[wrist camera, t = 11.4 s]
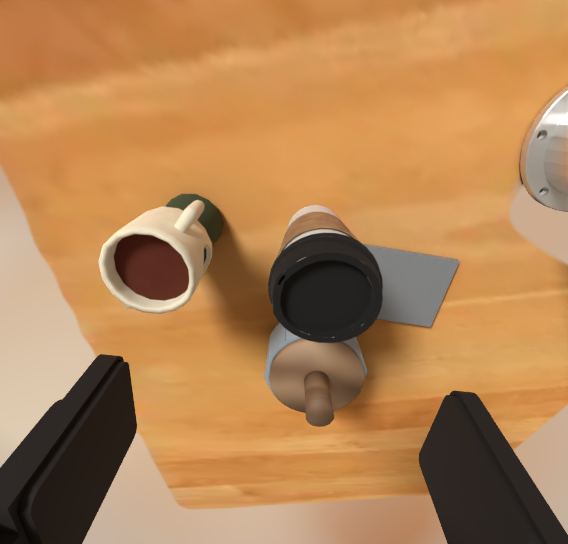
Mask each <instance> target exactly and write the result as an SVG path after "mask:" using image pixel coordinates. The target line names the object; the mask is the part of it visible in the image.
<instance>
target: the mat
mask: <svg viewBox="0 0 568 544" xmlns="http://www.w3.org/2000/svg"><path fill="white" fill-rule="evenodd" d="M363 245H364V246H366V247H367V248H368V250H369V251H370V252H371V253H372V254H373V256H374V257H375V259H376V261H377V263H378V266H379V269H380V272H381V275H382V282H383V289H382V295H383V301H382V307H381V310H380V312H379V315H378V317H377V318H376V319H380V320H386V321H393V322H399V323H406V324H413V325H419V326H426V327H431V325H432V323H433V321H434V318H435V316H436V314H437V312H438V309H439V307H440V305H441V303H442V300H443V298H444V296H445V294H446V291H447V289H448V287H449V285H450V282H451V280H452V278H453V275H454V273H455V271H456V269H457V266H458V264H459V262H460V261H459V260H457V259H452V258H446V257H440V256H434V255H428V254H422V253H416V252H410V251H403V250H397V249H391V248H385V247H379V246H373V245H367V244H363Z"/></svg>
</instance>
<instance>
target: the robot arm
mask: <svg viewBox="0 0 568 544" xmlns="http://www.w3.org/2000/svg"><path fill="white" fill-rule="evenodd" d="M520 171H521V177H522V181H523V184H524V186H525V188H526V189H527V191H528V193H529V194H530V195H531V196H532V197H533V198H534V199H535V200H536V201H537V202H539V203H541V204H543V205H544V206H547V207H549V208H552V209H555V210H559V211H565V212H568V86H566V87H565V88H564V89H563V90H562V91H560V92H559V93H558V94H557V95H555V96H554V97H553V98H552V99H551V100H550V101H549V103H548V104H547V105H546V106H545V107H544V108H543V109H542V110H541V112H540V113H539V115H538V116H537V118H536V119H535V120H534V122H533V124H532V126H531V128H530V130H529V132H528V134H527V136H526V138H525V141H524V144H523V148H522V152H521V159H520ZM136 429H137V422H136V415H135V407H134V400H133V392H132V385H131V377H130V370H129V364H128V362H124V360H123V358H122V357H121V356H112V355H102V354H101V355H99V356H98V357H97V358H96V359H95V360H94V361H93V362H92V364H91V365H90V366H89V367H88V369H87V370H86V371H85V372H84V374H83V375H82V376H81V377H80V378H79V380H78V381H77V382H76V383H75V385H74V386H73V387H72V388H71V390H70V391H69V393H67V395H66V396H65V397H64V398H63V400H59V401H57V402H55V403H54V404H53V405H52V406H51V407H50V408H49V410H48V411H47V412H46V413H45V414H44V416H43V417H42V418H41V419H40V420H39V422H38V423H37V424H36V425H35V427H34V428H33V429H32V430H31V431H30V433H29V434H28V435H27V436H26V438H25V439H24V440H23V441H22V442H21V444H20V445H19V446H18V447H17V448H16V450H15V451H14V452H13V453H12V454H11V456H10V457H9V458H8V459H7V460H6V462H5V463H4V464H3V465H2V467H1V468H0V544H82V543H83V541H84V538H85V536H86V534H87V532H88V530H89V528H90V526H91V524H92V522H93V520H94V518H95V516H96V514H97V512H98V510H99V508H100V506H101V504H102V502H103V500H104V498H105V496H106V493H107V492H108V489H109V488H110V486H111V484H112V481H113V480H114V478H115V475H116V473H117V471H118V469H119V467H120V465H121V463H122V461H123V459H124V457H125V455H126V453H127V451H128V449H129V447H130V445H131V443H132V441H133V439H134V436H135V433H136ZM419 463H420V467H421V470H422V473H423V476H424V478H425V481H426V484H427V487H428V490H429V492H430V495H431V498H432V501H433V504H434V506H435V509H436V512H437V515H438V518H439V520H440V523H441V526H442V529H443V532H444V534H445V537H446V540H447V543H448V544H568V535H567V533H566V532H565V530H564V529H563V527H562V525H561V524H560V522H559V521H558V519H557V518H556V516H555V515H554V513H553V511H552V510H551V508H550V507H549V505H548V504H547V502H546V501H545V499H544V497H543V496H542V494H541V493H540V491H539V490H538V488H537V487H536V485H535V484H534V482H533V480H532V479H531V477H530V476H529V474H528V473H527V471H526V470H525V468H524V466H523V465H522V463H521V462H520V460H519V459H518V458H517V456H516V454H515V453H514V451H513V449H512V448H511V446H510V445H509V443H508V442H507V440H506V439H505V437H504V436H503V434H502V432H501V431H500V429H499V428H498V426H497V425H496V423H495V422H494V420H493V418H492V417H491V415H490V414H489V412H488V411H487V409H486V408H485V406H484V405H483V403H482V401H481V400H480V398H479V397H478V396H477V395H476V394H475V393H471V392H462V391H452V392H451V393H450V395H447V396H445V398H444V400H443V402H442V404H441V406H440V408H439V411H438V413H437V415H436V417H435V420H434V422H433V424H432V426H431V428H430V431H429V433H428V435H427V437H426V440H425V442H424V444H423V446H422V448H421V451H420V453H419Z"/></svg>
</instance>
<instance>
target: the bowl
mask: <svg viewBox="0 0 568 544" xmlns="http://www.w3.org/2000/svg"><path fill="white" fill-rule="evenodd" d="M298 339H301V338H300V337H298V336H296V335H294V334H292V333H291V332H289V331H288V330H287V329H285V328H284V327H283V326H282V325H281V324H280V323H278V324H277V325H276V326H275V327H274V329H273V331H272V333H271V334H270V338H269V344H268V350H267V357H266V367H265V376H264V377H265V380H266V381H267V383H268V385H269V387H270V383H269V373H270V366H271V362H272V360H273V358H274V357H275V355H276V354H277V353H278V352H279V350H281V349H282V348H283V347H284V346H286V345H287V344H289V343H291V342H293V341H295V340H298ZM342 342H343V343H345V344H347V345H348V346H349V347H351V348H352V349H353V350H354V351H355V352H356V353H357V355H358V356H359V358H360V361H361V363H362V367H363V371H364V379H365V376H366V373H367V369H366V365H365V362H364V358H363V355H362V351H361V348H360V345H359V342H358V339H357V336H356V337H354V338H352V339H350V340H346V341H342ZM270 389H271V387H270ZM271 391H272V390H271ZM272 393H273V392H272ZM273 395H274V394H273ZM274 396H275V395H274ZM275 397H276V396H275Z"/></svg>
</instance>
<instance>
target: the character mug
mask: <svg viewBox="0 0 568 544" xmlns="http://www.w3.org/2000/svg"><path fill="white" fill-rule="evenodd" d="M222 224H223V222H222V219H221V216H220V213H219V210H218V209H217V208H216V207H215V206H214V205H213V204H212V203H211V202H210V201H209V200H207V199H205V198H203V197H201V196H198V195H196V194H181V195H179V196H177V197H175V198H173V199H171V200H170V202H169V203H168V204H167V205H166V206H165V207H164V206H163V207H158V208H155V209H152V210H149V211H146V212H145V213H143V214H142V215H140V216H139V217H137V218H136V219H135V220H133V221H132V222H130V223H129V224H127V225H126V226H124V227H123V228H121V229H120V230H118V231H117V232H116V233H115V234H114V235H113V236H112V237H111V238H110V239H109V240H108V241H107V242H106V243H105V244H104V245H103V246H102V250H101V254H100V258H99V261H98V262H99V267H100V272H101V277H102V280H103V281H104V283H105V284H106V286H107V287H108V289H109V290H110V292H111V294H112V295H114V296H115V297H116V298H117V299H119V300H120V301H121V302H122V303H123V304H125V306H126V308H131V309H132V308H133V309H136V310H139V311H141V312H145V313H157V314H162V313H166V312H171V311H175V310H177V309H179V308H180V307H182V306H184V305H185V304H186V303H187V302H188V301H189V300H190V298H191V296H192V295H193V293H194V291H195V289H196V288H197V286H198V284H199V282H200V280H201V279H202V277H203V276H204V274H205V272H206V270H207V267H208V266H209V264H210V261H211V258H212V246H213V245H214V244H213V243H214V242H215V241H216V240H217V239H218V238H219V237H220V235H221V233H222ZM212 244H213V245H212Z"/></svg>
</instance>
